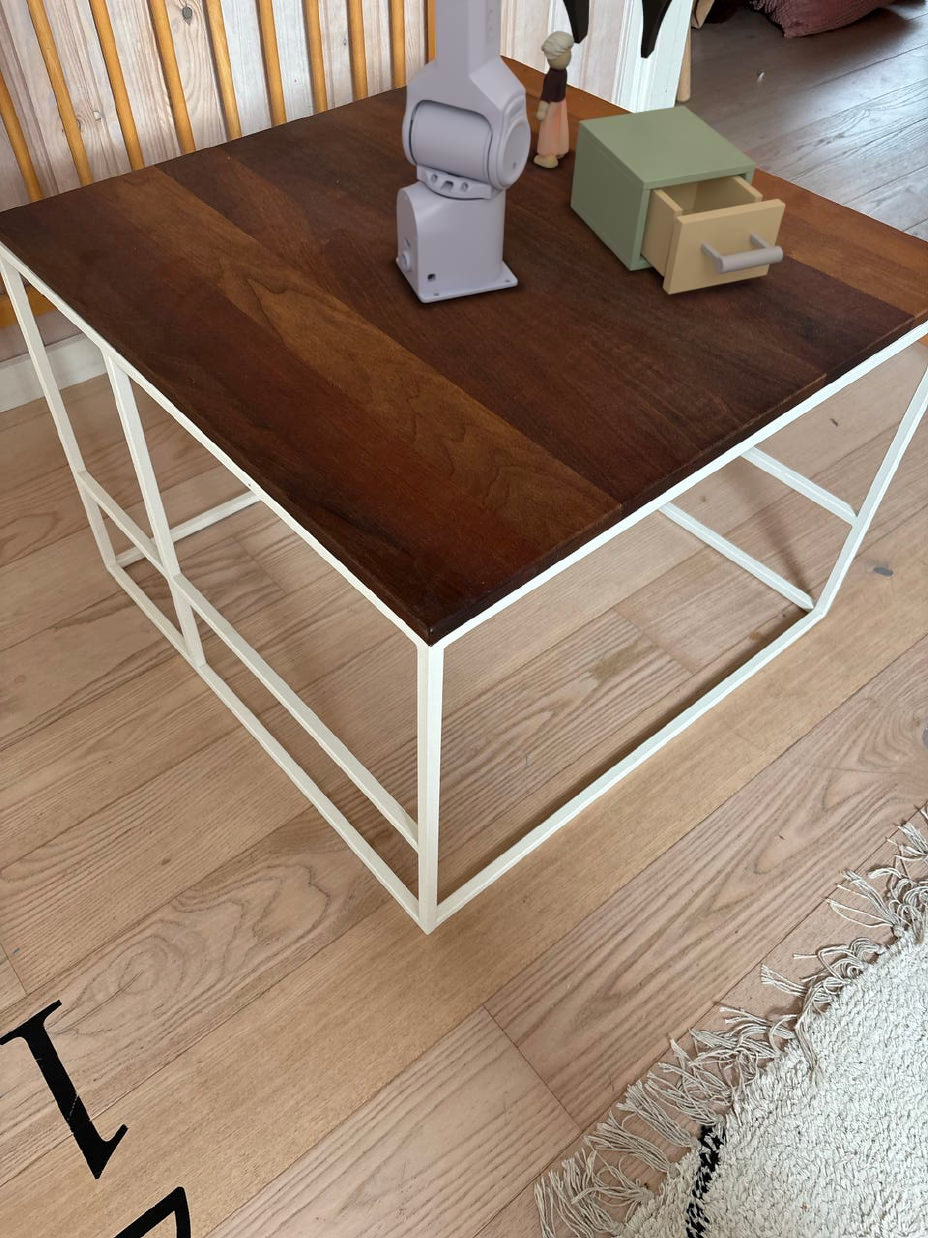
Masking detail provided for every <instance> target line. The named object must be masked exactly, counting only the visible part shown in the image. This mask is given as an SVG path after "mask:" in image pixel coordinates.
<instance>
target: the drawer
mask: <svg viewBox="0 0 928 1238" xmlns="http://www.w3.org/2000/svg"><path fill="white" fill-rule="evenodd" d="M763 196H764V195H763V194H762V193H761V192H760V191H759V190H757V189H756V188H755V187H753V185H752V184H751V185H750V184H749V183H747V182H746V181H745V180H744V179H743V178H741V177H740V176H739V175H738V174H737V175H731V176H725V177H719V178H713V179H708V180H702V181H696V182H690V183H684V184H678V185H672V186H666V187H660V188H654V189H650V195H649V202H648V208H647V214H646V220H645V226H644V232H643V239H642V245H641V251H640V253H641V254H642V255H643V256H644V257H645V258H646V259H647V260H648V261H649V262H650V263H651V264H652V265H653V268H654V269H655V270H656V271H657V272H658V273H659V274H660V275H661V276H662V277H664V280H663V285H662V289H663V290H664V291H665V293H667V294H668V295H672V294H673V295H674V294H679V293H683V292H687V291H692V290H693V291H694V290H697V289H704V288H708V287H713V286H717V285H722V284H729V283H732V282H733V283H734V282H738V281H744V280H749V279H753V278H758V277H763V276H767V275H768V272H769V268H770V265H772V264H778V263H781V262H782V260H783V258H784V250H783V249H782V247H781V246H780V245H776V242H777V238H778V235H779V231H780V227H781V224H782V219H783V216H784V212H785V208H786V203H784V202H783V201H782V200H780V198H775V199H769V200H763ZM762 200H763V201H762Z"/></svg>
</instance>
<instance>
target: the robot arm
mask: <svg viewBox="0 0 928 1238" xmlns="http://www.w3.org/2000/svg"><path fill="white" fill-rule="evenodd" d="M562 2H563V5H564V8H565V10H566V14H567V17H568V21H569V25H570V30H571V36H573V38H574V44H576V45H580V44H581V43H582V42H583V41H584V39H586V38H587V36H588V34H589V27H590V0H562ZM672 2H673V0H641V8H642V31H641V41H640V59H645V60H647V59H649V57H650V56H651V55H652V53H653V52H654V51H655V48H656V44H657V40H658V37H659V34H660V30H661V28H662V25H663V22H664V20H665V17H666V14H667V13H668V10H669V8H670V6H671V4H672ZM434 24H435V25H434V29H435V30H434V31H435V33H434V34H435V58H433V59H431V60H430V61H428V62H427V63H426V64H424V65H423V66H422V67H421V68H419V69H418V70H417V71H416V72H415V73H414V74H413V76H412V77H411V79H410V80H409V81H408V83H407V85H406V102H405V103H406V104H405V112H404V117H403V119H402V127H401V143H402V148H403V151H404V155H405V158H406V160H407V161H408V162H409V163H410V164H411V165H412V166H414V167H416V179H417V180H418V181H416V182H415V183H413V184H410V185H408V186H405V187H402V188H400V189H398V192H397V196H396V232H397V233H396V234H397V257H396V258H395V263H396V264H397V266H398V268H399V270H400V271H401V272H402V274H403V275H404V277H405V278H406V280H407V282H408V283H409V285H410V286H411V288H412V289H413V292H414V293H415V294H416V296H417V297H418V299H419V301H420V302H422V303H423V304H427V303H433V302H439V301H443V300H449V299H454V298H459V297H464V296H470V295H476V294H480V293H486V292H491V291H496V290H502V289H506V288H512V287H516V286H517V285H518V283H519V281H518V280H519V279H517V277H516V276H515V275H514V273H513V272H512V271H511V269H509V267H508V265H507V264H506V263H505V261H504V260H503V255H504V237H505V235H504V234H505V218H506V217H505V213H506V195H507V189H510V187H511V186H512V185H514V183H516V182H517V180H519V178H520V177H521V175H522V173H523V171H524V169H525V167H526V164H527V161H528V157H529V153H530V148H531V140H532V139H531V137H532V136H531V127H530V126H531V125H530V123H529V119H528V114H527V99H526V93H527V92H526V91H527V90H526V88H525V86H524V85H523V84H522V83H521V81H520V80H519V77H517V76H516V75H515V73H514V72H513V71H512V70H511V69H510V67H509V66H508V65H507V64H506V62H505V61H504V60H503V58H502V56H501V49H502V48H501V47H502V46H501V42H502V41H501V40H502V0H434Z"/></svg>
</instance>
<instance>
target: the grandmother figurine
mask: <svg viewBox="0 0 928 1238" xmlns="http://www.w3.org/2000/svg"><path fill="white" fill-rule="evenodd" d="M574 46H575V43H574V38H573V35H572V34H570V33H568V32H565V31H564V30H556V31H553V32H552V33H550V34H549V35H548V37H547V38H546V39H545V40H544V42H543V44H542V45H541V46H540V49H541V51H542V52H543V54H544V57H545V58H546V62H547V64H548V66H549V69H548V70H547V72H546V74H545V75H544V78H543V83H542V90H541V94H540V97H539V104H538V108H537V112H536V114H535V118H536V120H537V121H538V122H540V126H539V132H538V139H537V148H536V153H537V155H535V157H534V159H533V163H534V164H536V165H538V166H541V167H543V168H546V169H547V168H548V169H552V168H555V167H557V166H558V165H559V161H558V159H561V158H563V157H564V156H565V154H567V153H569V150H570V148H569V147H570V136H569V133H570V132H569V120H568V119H569V118H568V107H567V100H566V96H567V93H568V75H569V74H568V73H569V72H568V70H567V67H569V66H570V63H571V61H572V57H573V55H572V49H573V47H574Z"/></svg>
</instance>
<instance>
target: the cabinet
mask: <svg viewBox="0 0 928 1238" xmlns="http://www.w3.org/2000/svg"><path fill="white" fill-rule="evenodd" d="M574 158H575V159H574V168H573V178H572V187H571V188H572V189H571V197H570V198H571V199H570V207H571V209H572V210H573V211H574V212H575V213H576V214H577V216H579V217H580V219H581V220H583V222H584V223H585V224H586V225H587V226H588V227H589V229H591V230H592V231H593V232H594V233H595V235H596V236H597V237H598V238H599V239H600V240H601V241H602V242H603V243H604V245H606V246H607V247H608V248H609V250H611V252H612V253H613V254H614V255H615V256H616V257H617V258H618V259H619V260H620V262H622V264H623V265H624V266H625V267H626V268H627V269H628V270H629V271H632V272H633V271H636V270H643V269H648V268H652V267H653V268H654V266H653V265H652V264H651V263H650V262H649V261H648V260H647V259H646V258H645V257H644V256H643V255H642V254H641V253H640V251H641V245H642V239H643V232H644V226H645V220H646V214H647V208H648V202H649V195H650V189H654V188H660V187H666V186H672V185H678V184H684V183H690V182H696V181H702V180H708V179H713V178H719V177H725V176H731V175H737V174H738V175H739V176H740V177H741V178H743V179H744V180H745V181H746V182H747V183H749V184H750V185H751V186H752V184H753V179H754V175H755V170H756V166H757V163H756V162H755V161H754V160H752V159H751V158H750V157H749V156H748V155H746V154H745V153H744V152H742V150H740V149H739V148H737V147H736V146H735V145H734V144H732V143H731V142H730V141H729V140H727V139H726V138H725V137H724V136H723V135H721V134H720V133H719V132H717V131H716V130H715V129H714V128H713V127H711V126H710V125H709V124H707V122H705V121H704V120H702V119H701V118H700V117H699V116H697V115H696V114H695V113H694V112H692V111H691V110H690V109H689V108H687V107H686V106H685V105H679V106H672V107H664V108H659V109H651V110H650V109H649V110H644V111H638V112H637V111H636V112H631V113H625V114H617V115H610V116H603V117H596V118H589V119H582V120H579V121H578V130H577V139H576V149H575V157H574Z"/></svg>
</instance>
